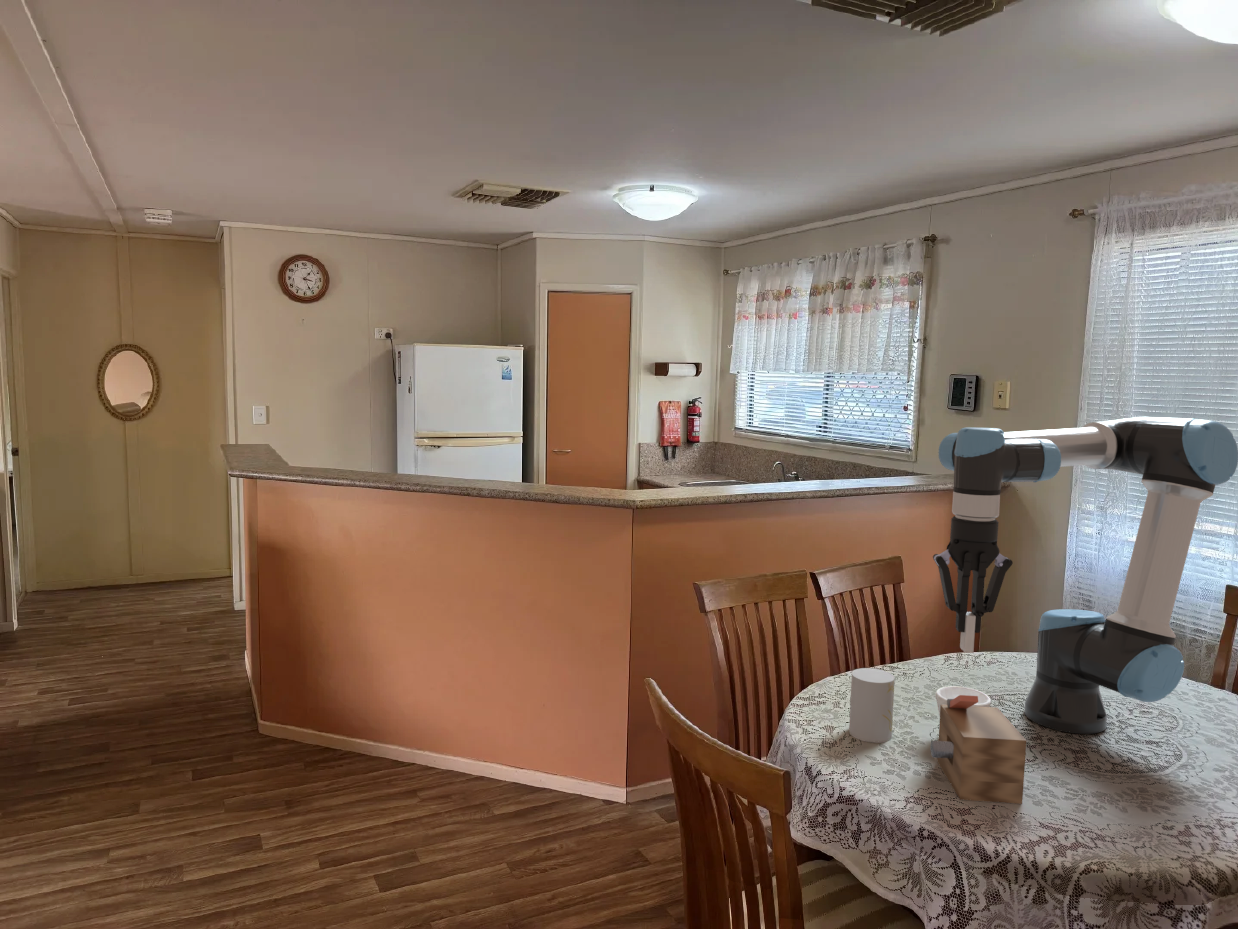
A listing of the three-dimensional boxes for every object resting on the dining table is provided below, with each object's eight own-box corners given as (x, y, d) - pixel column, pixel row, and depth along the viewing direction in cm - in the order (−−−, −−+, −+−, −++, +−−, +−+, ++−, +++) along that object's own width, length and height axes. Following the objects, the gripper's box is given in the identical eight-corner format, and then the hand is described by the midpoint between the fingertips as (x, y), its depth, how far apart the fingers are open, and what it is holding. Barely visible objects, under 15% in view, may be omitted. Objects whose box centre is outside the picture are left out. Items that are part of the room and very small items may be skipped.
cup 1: (894, 744, 161) (897, 684, 160) (850, 740, 162) (853, 680, 161) (889, 727, 169) (892, 670, 167) (847, 723, 170) (850, 666, 169)
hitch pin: (1012, 761, 148) (1014, 733, 147) (1023, 775, 143) (1025, 746, 142) (928, 756, 149) (929, 728, 149) (935, 770, 144) (937, 741, 144)
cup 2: (963, 756, 156) (966, 708, 155) (922, 735, 165) (924, 690, 164) (999, 746, 161) (1002, 700, 160) (957, 726, 169) (959, 682, 168)
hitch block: (993, 765, 153) (997, 707, 151) (1022, 804, 139) (1026, 740, 138) (937, 762, 154) (940, 704, 152) (959, 799, 140) (963, 737, 139)
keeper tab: (965, 709, 151) (964, 700, 152) (978, 702, 144) (977, 692, 145) (947, 708, 151) (946, 699, 152) (959, 701, 144) (958, 691, 145)
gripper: (1006, 515, 147) (997, 645, 149) (930, 512, 148) (922, 641, 150) (1022, 522, 139) (1013, 659, 142) (941, 519, 140) (933, 655, 143)
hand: (966, 649), depth 146 cm, fingers closed
